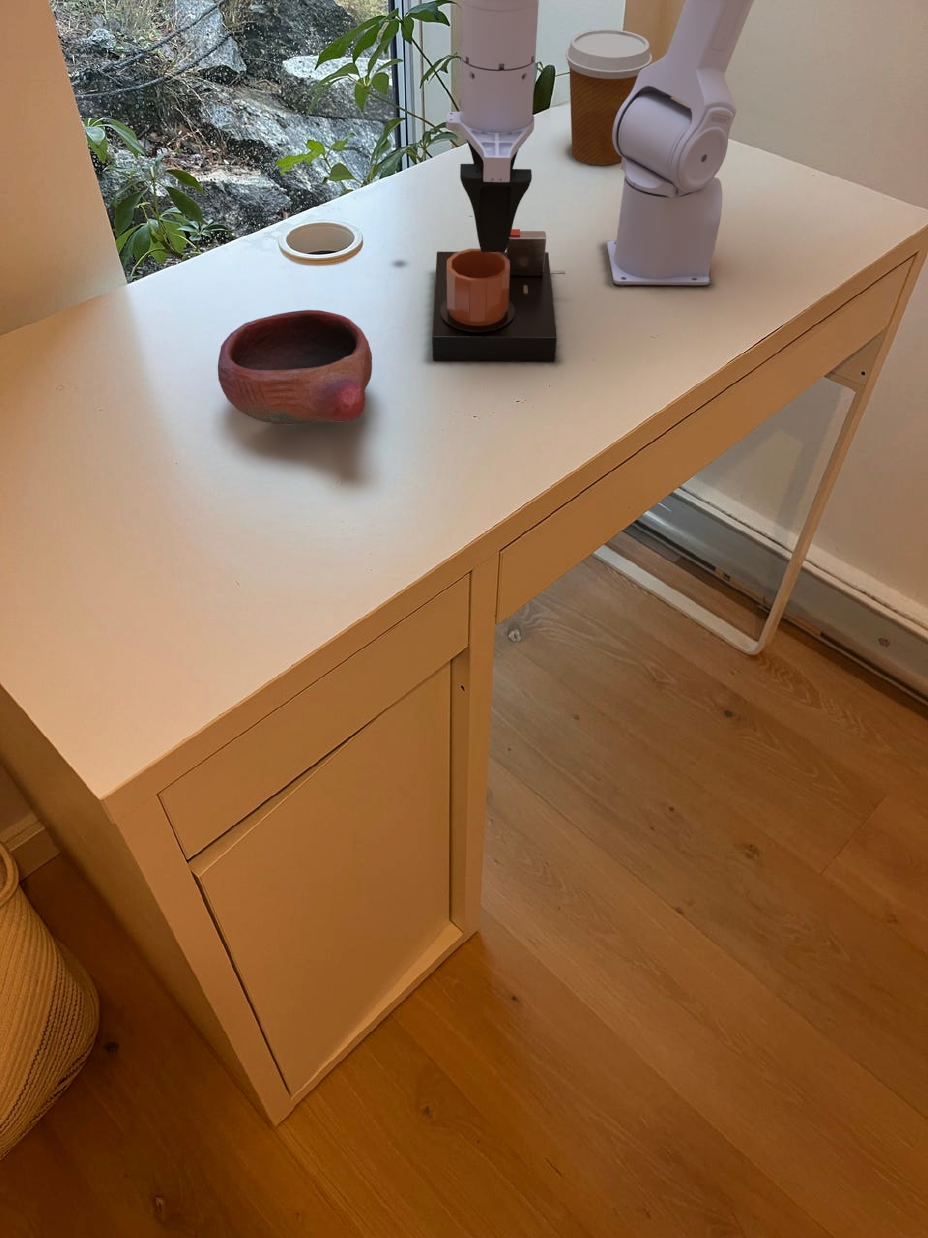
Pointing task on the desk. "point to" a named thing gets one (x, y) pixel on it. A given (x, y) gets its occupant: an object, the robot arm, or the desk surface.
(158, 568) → the desk surface
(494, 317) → the small cup
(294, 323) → the bowl
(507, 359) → the stove
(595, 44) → the disposable coffee cup
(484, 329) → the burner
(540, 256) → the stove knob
